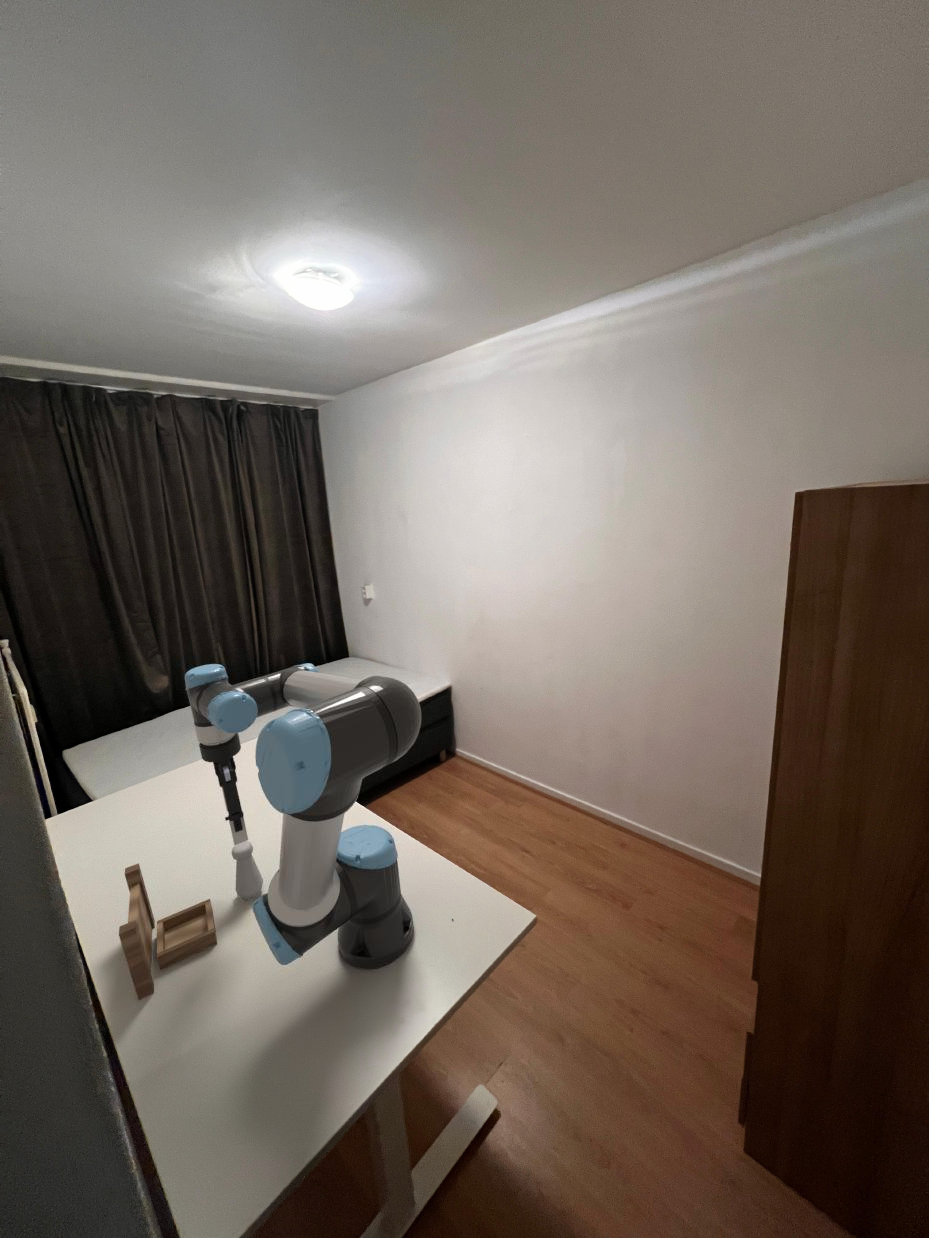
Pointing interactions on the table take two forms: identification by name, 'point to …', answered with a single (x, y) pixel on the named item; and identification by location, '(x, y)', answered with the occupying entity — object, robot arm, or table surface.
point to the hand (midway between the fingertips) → (236, 824)
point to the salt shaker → (246, 872)
